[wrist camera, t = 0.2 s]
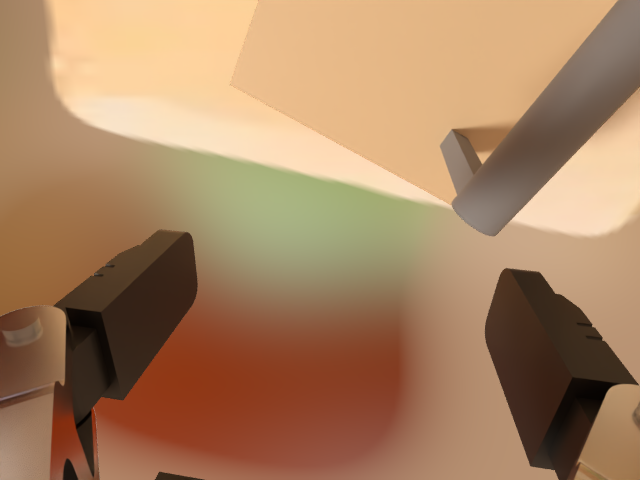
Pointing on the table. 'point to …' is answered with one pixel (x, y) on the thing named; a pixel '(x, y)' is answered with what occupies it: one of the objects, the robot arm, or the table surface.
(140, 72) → the table surface
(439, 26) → the carton flap
